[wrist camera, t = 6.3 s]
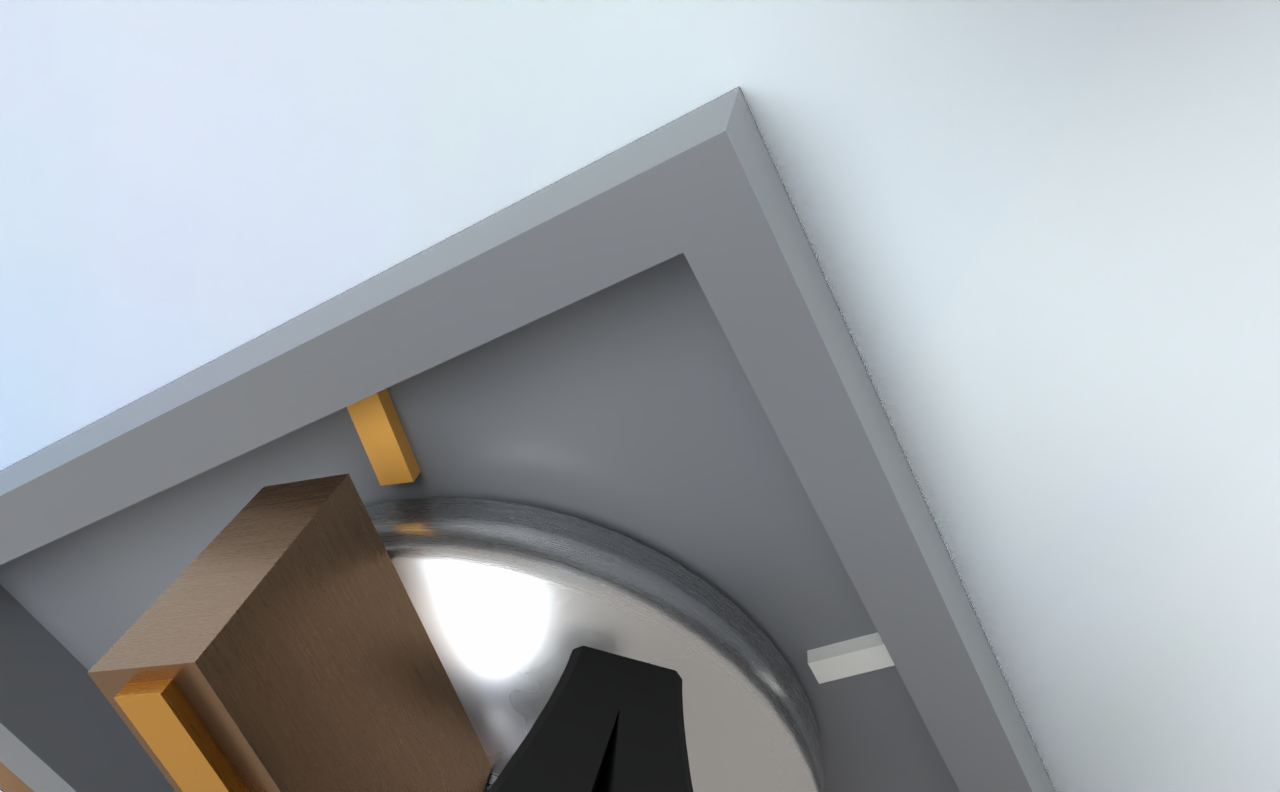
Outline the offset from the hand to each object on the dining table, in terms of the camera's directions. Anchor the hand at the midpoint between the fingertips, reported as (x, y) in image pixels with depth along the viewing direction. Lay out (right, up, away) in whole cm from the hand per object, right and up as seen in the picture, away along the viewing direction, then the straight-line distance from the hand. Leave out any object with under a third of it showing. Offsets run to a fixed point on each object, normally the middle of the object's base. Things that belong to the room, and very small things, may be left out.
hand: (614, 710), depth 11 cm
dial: (-2, -2, +5) cm, 6 cm away
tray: (-2, -2, +7) cm, 7 cm away
